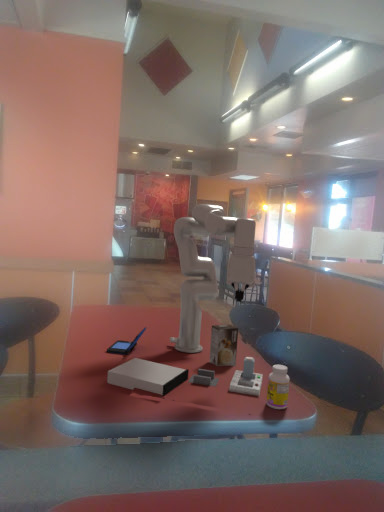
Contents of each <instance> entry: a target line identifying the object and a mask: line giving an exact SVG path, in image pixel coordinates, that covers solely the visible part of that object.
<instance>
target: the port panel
mask: <svg viewBox="0 0 384 512" xmlns="http://www.w3.org/2000/svg"><path fill="white" fill-rule="evenodd" d="M263 377H264V376H263V373H257V372H254V374H253V379H250V378H243V370H238V369H236V370H235V371H234V374H233V376H232V379H231V381H230V384H229V389H228V392H231V393H232V392H234V393H237V394H243V395H244V394H245V395H251V396H256V397H258V400H259V398H260V393H261V390H262V385H263Z"/></svg>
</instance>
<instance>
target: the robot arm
mask: <svg viewBox="0 0 384 512" xmlns="http://www.w3.org/2000/svg"><path fill="white" fill-rule="evenodd" d="M256 222H257V221H256V220H255V219H253V218H246V217H245V218H244V217H234V216H233V217H232V216H226V211H225V209H224V208H223V207H222V206H220V205H217V204H207V203H198V204H197V205H195V206H194V207H193V208H192V210H191V216H183V217H179V218H177V219H176V220H175V222H174V227H173V236H174V239H175V244H176V245H177V248H178V249H177V250H178V256H179V263H180V270H181V275H182V276H184V277H186V278H192V279H186V280H184V281H183V282H181V284H180V286H179V294H180V295H179V296H180V316H179V328H178V329H179V330H178V331H179V332H178V337H174V336H173V337H172V336H171V337H169V342H170V343H171V344H172V343H173V344H175V345H174V350H176V351H179V352H182V353H187V354H189V353H190V354H193V353H200V352H202V351H203V346H202V345H201V344H200V341H201V328H202V314H203V313H202V312H203V310H202V307H201V306H200V304H199V302H200V301H202V302H203V301H213V300H215V299H216V298H217V296H218V295H219V287H218V286H219V285H218V279H217V271H216V265H215V261H213V259H212V258H210V257H207V256H200V255H199V254H198V247H197V245H196V243H195V241H194V240H193V239H192V238H191V237H204V238H205V237H206V238H207V237H209V236H211V235H214V236H216V237H224V238H225V237H227V238H233V243H232V247H229V249H228V251H229V252H230V253H232V254H230V256H229V259H228V263H227V270H226V271H227V272H226V280H225V281H226V282H225V285H226V284H227V285H229V286H231V287H232V288H233V289H234V291H235V294H234V299H235V302H239V303H242V300H244V295H245V291H246V290H247V289H248V288H254V287H256V283H255V281H256V280H255V279H256V257H255V256H254V251H255V250H254V249H255V239H256V238H255V237H256V227H257V223H256ZM195 278H196V279H195ZM197 278H202V279H197ZM239 284H242V285H241V288H240V285H239Z"/></svg>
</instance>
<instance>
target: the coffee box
mask: <svg viewBox="0 0 384 512" xmlns="http://www.w3.org/2000/svg"><path fill="white" fill-rule="evenodd" d="M238 337H239V327H237V326H234V325H232V324H218V325H216V324H215V325H211V334H210V347H209V348H210V350H209V359H208V360H209V363H211V364H213V365H214V366H216V367H224V366H228V367H229V366H231V367H236V364H237V353H238V350H237V349H238Z"/></svg>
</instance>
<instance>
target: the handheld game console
mask: <svg viewBox="0 0 384 512" xmlns="http://www.w3.org/2000/svg"><path fill="white" fill-rule="evenodd" d="M146 330H147V327H146V326H145V327H144V328H143V329H141V331H139V333H138V334H136V336H135V337H134V339H133V340H132V341H128V340H116V341H115V342H114V343H113V344H111V345H110V346H109V347H108V348H107V349H106V352H107V353H108V352H110V353H109V354H116V353H117V354H118V355H124V354H125V355H124V356H127V355H129V353H130V352H131V351H132V348H133V349H134V348H135V347H137V345H138V341H139V340H140V338H141V337H142V335H143V334H144V332H145V331H146Z"/></svg>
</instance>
